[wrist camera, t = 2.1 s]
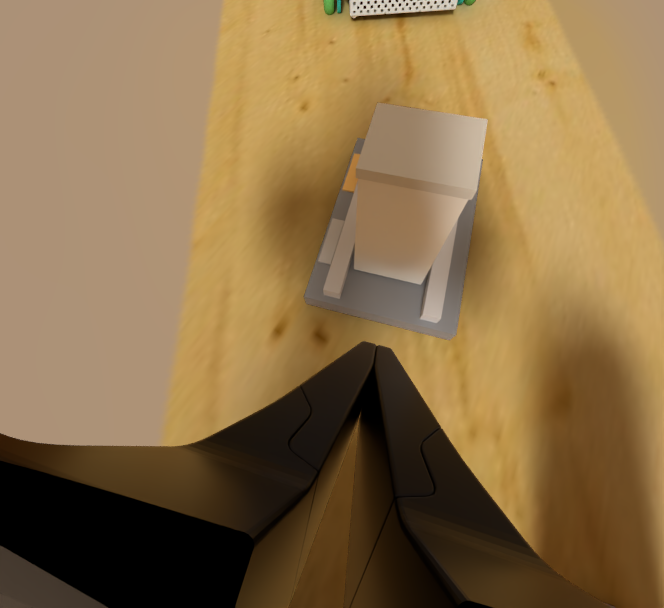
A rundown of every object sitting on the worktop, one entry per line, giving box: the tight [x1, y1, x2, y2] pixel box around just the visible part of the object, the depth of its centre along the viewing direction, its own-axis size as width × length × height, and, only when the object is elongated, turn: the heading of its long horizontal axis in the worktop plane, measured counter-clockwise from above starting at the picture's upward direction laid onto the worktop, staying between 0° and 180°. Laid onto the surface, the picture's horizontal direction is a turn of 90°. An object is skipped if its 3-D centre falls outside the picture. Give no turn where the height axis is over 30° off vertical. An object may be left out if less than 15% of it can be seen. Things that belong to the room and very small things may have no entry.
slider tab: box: [354, 102, 488, 285], centre depth 18 cm, size 4×5×10 cm
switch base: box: [304, 138, 483, 340], centre depth 24 cm, size 16×11×3 cm
